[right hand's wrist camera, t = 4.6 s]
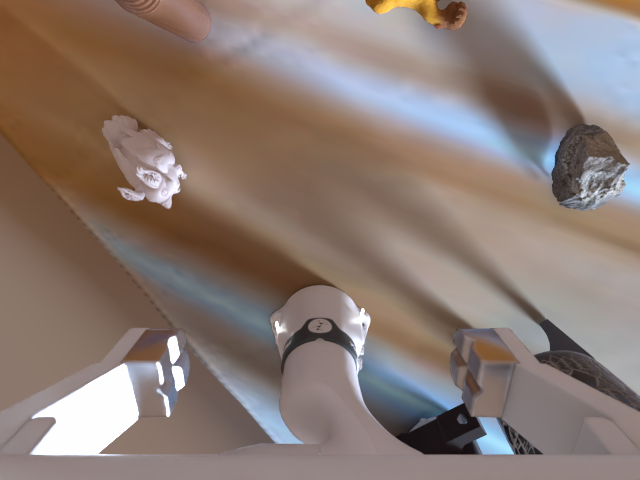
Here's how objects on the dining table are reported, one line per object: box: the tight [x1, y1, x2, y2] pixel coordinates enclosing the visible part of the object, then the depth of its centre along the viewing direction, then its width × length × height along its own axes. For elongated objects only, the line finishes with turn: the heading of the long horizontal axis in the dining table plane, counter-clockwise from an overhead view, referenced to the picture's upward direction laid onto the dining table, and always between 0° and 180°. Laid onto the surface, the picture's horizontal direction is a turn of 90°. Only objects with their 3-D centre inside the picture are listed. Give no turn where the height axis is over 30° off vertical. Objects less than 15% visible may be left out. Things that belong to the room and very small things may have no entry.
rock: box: [552, 124, 630, 211], centre depth 53 cm, size 13×9×6 cm, turn 27°
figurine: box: [102, 115, 187, 209], centre depth 50 cm, size 8×15×13 cm, turn 42°
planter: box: [496, 319, 640, 455], centre depth 56 cm, size 20×20×26 cm
